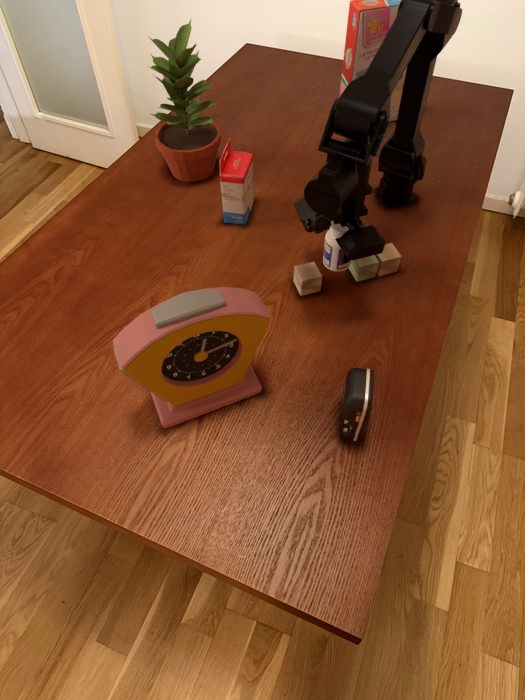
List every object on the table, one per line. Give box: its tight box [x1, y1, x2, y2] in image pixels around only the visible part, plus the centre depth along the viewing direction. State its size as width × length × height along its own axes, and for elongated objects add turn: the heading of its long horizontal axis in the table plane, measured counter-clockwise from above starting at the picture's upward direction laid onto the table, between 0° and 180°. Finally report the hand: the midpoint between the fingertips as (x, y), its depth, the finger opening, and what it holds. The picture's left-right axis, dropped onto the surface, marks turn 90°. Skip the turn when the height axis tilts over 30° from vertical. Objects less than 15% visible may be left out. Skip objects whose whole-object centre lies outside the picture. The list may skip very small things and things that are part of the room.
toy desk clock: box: [112, 286, 272, 429], centre depth 73 cm, size 22×9×22 cm, turn 114°
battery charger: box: [340, 367, 375, 442], centre depth 74 cm, size 7×4×11 cm, turn 170°
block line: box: [292, 242, 402, 297], centre depth 95 cm, size 20×4×4 cm, turn 108°
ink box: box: [219, 137, 255, 226], centre depth 102 cm, size 8×5×15 cm, turn 168°
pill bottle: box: [322, 220, 352, 273], centre depth 89 cm, size 5×5×9 cm
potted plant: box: [147, 19, 222, 183], centre depth 105 cm, size 15×15×30 cm
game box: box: [338, 0, 407, 123], centre depth 118 cm, size 21×6×27 cm, turn 108°
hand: (338, 252), depth 90 cm, fingers closed on pill bottle, 5 cm apart
